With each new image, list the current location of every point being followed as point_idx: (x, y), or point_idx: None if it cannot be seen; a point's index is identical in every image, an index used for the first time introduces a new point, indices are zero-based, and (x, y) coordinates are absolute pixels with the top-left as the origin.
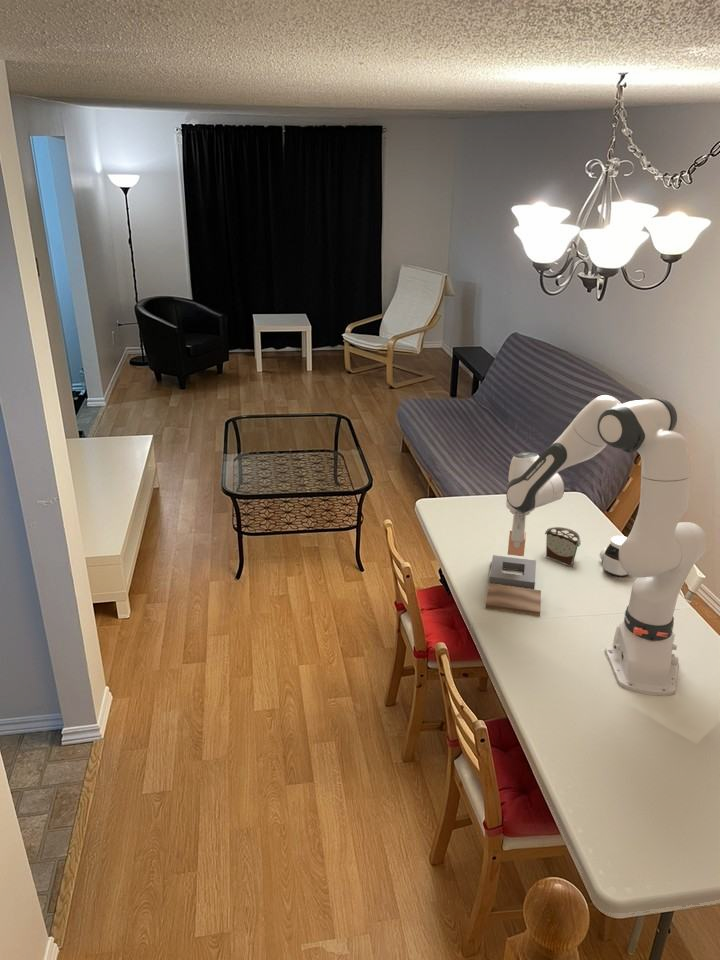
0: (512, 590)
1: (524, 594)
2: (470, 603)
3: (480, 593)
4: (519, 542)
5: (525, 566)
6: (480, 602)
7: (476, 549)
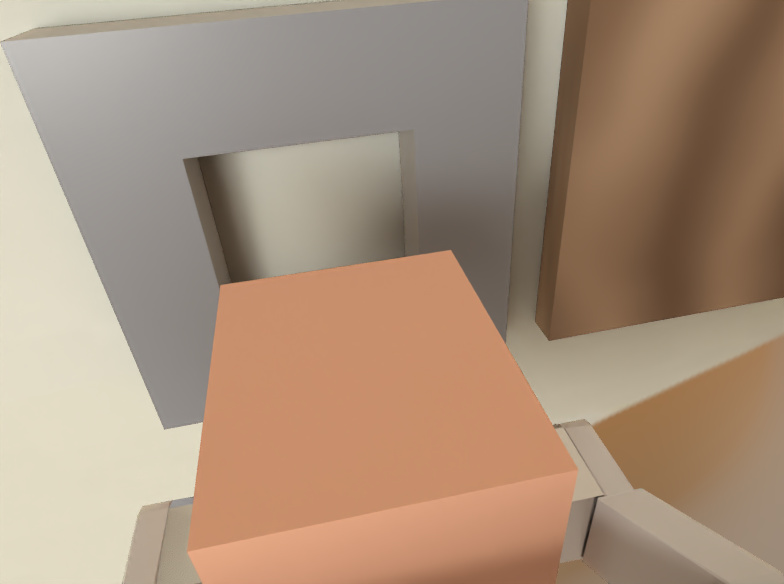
0: (625, 176)
1: (678, 69)
2: (708, 355)
3: (606, 340)
4: (652, 499)
5: (224, 144)
6: (699, 316)
7: (56, 504)
